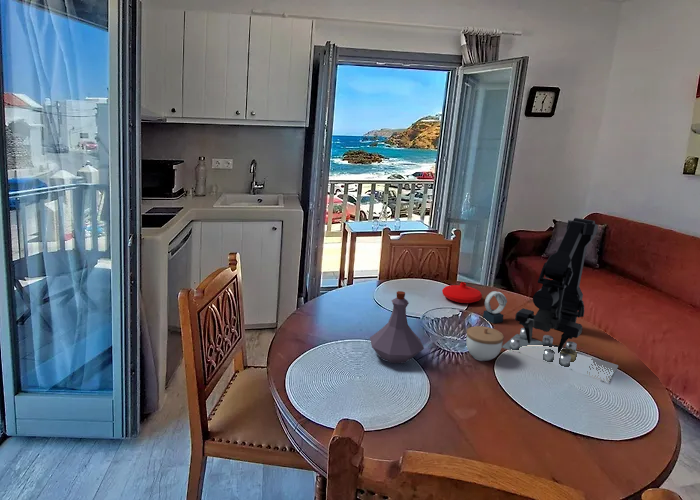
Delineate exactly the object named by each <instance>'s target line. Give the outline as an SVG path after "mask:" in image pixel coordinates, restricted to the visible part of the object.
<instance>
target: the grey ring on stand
mask: <svg viewBox="0 0 700 500" xmlns="http://www.w3.org/2000/svg"><path fill="white" fill-rule="evenodd" d="M493 297H495V299H496V301H497V303H498V307H497V308H496V309H492V307H491V302H490V301H491V299H493ZM507 303H508V299H507V297H506V296H505V295H504V293H502V292H500V291H496V290H494V291H493V290H492V291H491V292H489V293H488V294H487V295H486V297H485V300H484V307H485V310H483V313H482V319H483V318H485V319H486V320H487V321H486V320H485V321H486V322H488V321H489V322H488V323H491V324H499V323H501V324H502V323H503V321H504V314H502V313H501V312H502V311H503V310H504V309H505V307H506V306H507Z"/></svg>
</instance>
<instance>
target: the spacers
mask: <svg viewBox="0 0 700 500" xmlns="http://www.w3.org/2000/svg"><path fill="white" fill-rule="evenodd" d="M519 335H520V338H521V339H523V340H527V336H526V331H525V329H524V327H521V328H520V332H519ZM510 339H511V340H510ZM510 339H509V340H510V346H509V348H510V349H512V350H519V348H520V342H521V340H520V339H518V338H513V337H511V338H510ZM553 342H554V337H553V336H552V335H548V334H544V335H543V337H542V345H543V346H549V347H552V345H553ZM577 345H578V344H577V343H576V342H574V341H570V340H567V341H566V343H565V348H566V349H572V350H574V351H575V352H577ZM554 354H555V352H554V351H553V350H551V349H545V350H544V354H543V360H545V361H547V362H553V360H554ZM570 360H571V356H570V355H569V354H565V353H561V354H560V358H559V364H560V365H561V366H564V367H569V366H570ZM547 362H546V363H547Z"/></svg>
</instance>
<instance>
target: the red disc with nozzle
mask: <svg viewBox="0 0 700 500" xmlns="http://www.w3.org/2000/svg"><path fill="white" fill-rule="evenodd" d="M441 291H442V292H441V293H442V295H443V296H444V297H445V298H447V299H448V300H450V301H453V302H455V303H461V304H473V303H475V302H479V301H481V300H482V297H483V294H482V292H481V291H479V289H477V288H474V287H471V286H468V285H467V283H466V282H463V281H462V282H460V284H452V285H451V284H450V285H447V286H444V287H443V288H442V290H441Z"/></svg>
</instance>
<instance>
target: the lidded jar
mask: <svg viewBox="0 0 700 500" xmlns="http://www.w3.org/2000/svg"><path fill="white" fill-rule="evenodd" d="M504 338H505V337H504V334H503V333H502V332H501V331H499V330H498V329H496V328H493V327H488V326H482V325H481V326H480V325H474V326H470V327H468V328H467V329H466V343H465V344H466V348H467V350H468V351H467V352H469V354H470V355H471V356H472V358H473V359H475V360H477V361H479V362H485V361H491V360H493V359H495V358H496V357H497V356H499V354H500V352H501V350H502V346H503V343H504V340H505V339H504Z"/></svg>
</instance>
